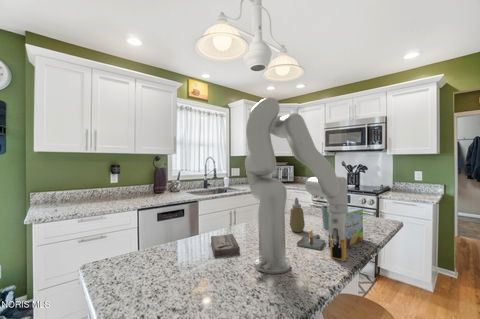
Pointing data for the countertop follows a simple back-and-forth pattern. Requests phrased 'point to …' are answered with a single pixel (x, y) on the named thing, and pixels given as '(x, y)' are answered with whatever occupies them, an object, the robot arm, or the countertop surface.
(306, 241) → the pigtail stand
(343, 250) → the cube with dome knob
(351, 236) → the snack box
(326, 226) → the green cup
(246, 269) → the countertop surface
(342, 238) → the robot arm
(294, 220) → the squeeze bottle
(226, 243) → the box
